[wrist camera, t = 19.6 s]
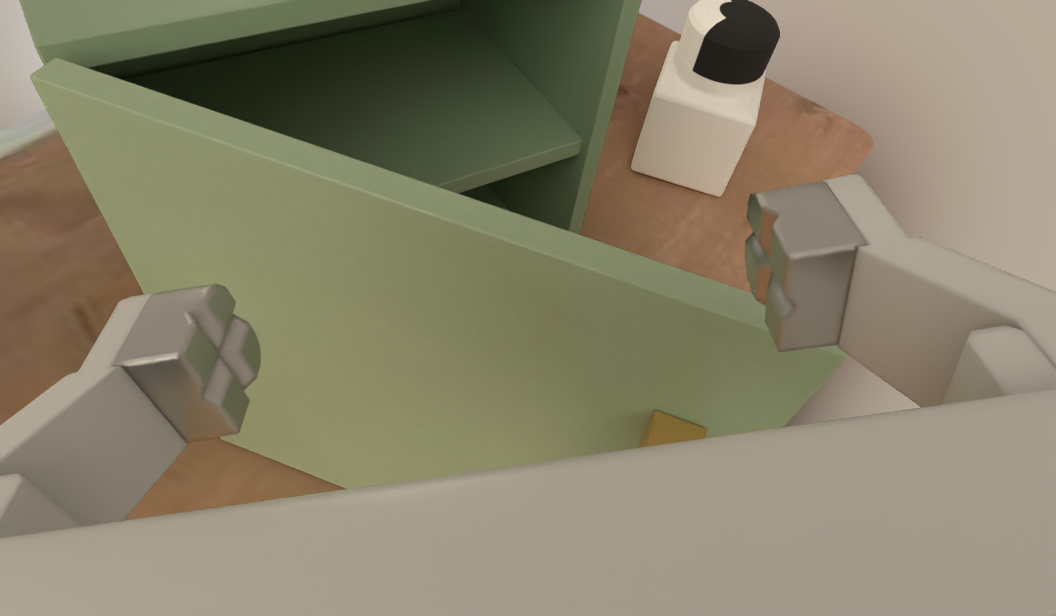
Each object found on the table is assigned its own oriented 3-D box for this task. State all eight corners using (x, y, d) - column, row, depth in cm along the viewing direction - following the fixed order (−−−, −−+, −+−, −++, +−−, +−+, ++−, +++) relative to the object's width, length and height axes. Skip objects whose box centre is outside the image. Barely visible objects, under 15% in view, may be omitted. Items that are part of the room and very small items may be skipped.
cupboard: (568, 279, 45) (660, -68, 27) (221, 420, 36) (33, 45, 19) (460, 139, 52) (478, -210, 34) (147, 229, 43) (-40, -176, 26)
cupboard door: (595, 732, 30) (832, 606, 12) (145, 545, 32) (-179, 219, 15) (632, 579, 34) (850, 325, 17) (231, 423, 36) (55, 56, 19)
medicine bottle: (733, 143, 56) (797, 1, 46) (720, 200, 51) (788, 57, 42) (648, 117, 56) (693, -28, 47) (628, 171, 52) (674, 24, 42)
